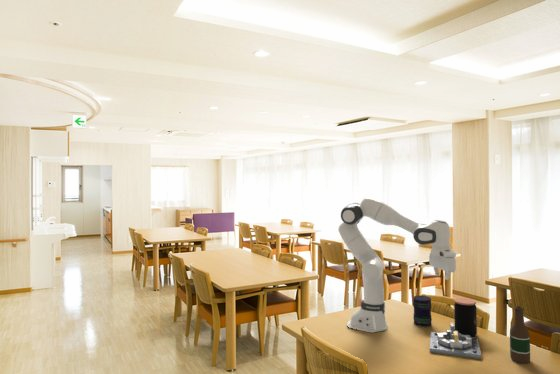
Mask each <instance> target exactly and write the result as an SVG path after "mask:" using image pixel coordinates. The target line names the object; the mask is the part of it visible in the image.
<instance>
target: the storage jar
mask: <svg viewBox="0 0 560 374" xmlns="http://www.w3.org/2000/svg"><path fill="white" fill-rule="evenodd" d="M412 297H413V298H412V301H413V302H412V304H413V305H412V307H413V324H414V325H415V326H417V327H421V328H427V327H432V319H433V318H432V298H431V297H430V296H427V295H415V296H412Z"/></svg>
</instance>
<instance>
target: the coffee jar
mask: <svg viewBox="0 0 560 374" xmlns="http://www.w3.org/2000/svg"><path fill="white" fill-rule="evenodd" d="M453 302H454V303H453V304H454V305H453V313H454V317H453V318H454V319H453V320H454V326H455V331H458V333H460V334H463V335H470V337H477V335H478V328H477V327H478V325H477V323H478V322H477V318H478V316H477V305H476V304H477V301H476V300H475V299H472V298H467V297H456V298H453Z"/></svg>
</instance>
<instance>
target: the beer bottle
mask: <svg viewBox="0 0 560 374" xmlns="http://www.w3.org/2000/svg"><path fill="white" fill-rule="evenodd" d="M513 309H514V319H513V320H514V321H513V324H512V326H511V327H510V329H509V354H510V355H509V357H510V359H511V360H512V361H513V362H515V363H518V364H529V363H531V338H530V332H529V329H528V328H527V327H526V325H525V319H524V316H525V315H524V307H523V306H520V305H516V306H514V308H513Z"/></svg>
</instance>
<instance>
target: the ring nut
mask: <svg viewBox="0 0 560 374" xmlns="http://www.w3.org/2000/svg"><path fill="white" fill-rule="evenodd" d="M436 333H437V339H438V343H440V344H442V345H445V346H447V347H450V348H460V349H462V348H467V347H471V346H472V339H471V337H470V335H463V334H460V333H458V331H455V322H449V329H446V331H444V332H436ZM450 333H453V339H454V340H451V339H450V341H448V340H446V338H450ZM458 339H460V340H458ZM462 340H463V342H462Z"/></svg>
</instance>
